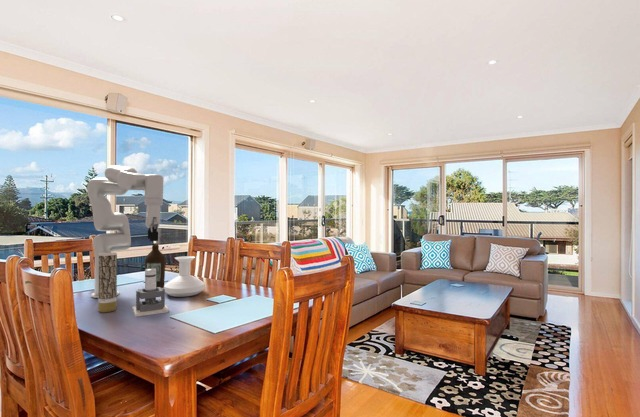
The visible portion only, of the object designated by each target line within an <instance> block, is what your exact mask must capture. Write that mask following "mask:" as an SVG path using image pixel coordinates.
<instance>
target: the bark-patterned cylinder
mask: <svg viewBox="0 0 640 417" xmlns="http://www.w3.org/2000/svg"><path fill="white" fill-rule="evenodd" d="M117 253H118V252H111V253H100V254H99V293H98V298H97V299H98V303H97V304H98V306H97V307H98V308H97V309H98V312H99V313H110V312H113V311H115V310H117V297H118V295H117V291H118V289H117V288H118V287H117V286H118V279H117V277H118V271H117V270H118V254H117Z"/></svg>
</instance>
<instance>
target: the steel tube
mask: <svg viewBox="0 0 640 417" xmlns="http://www.w3.org/2000/svg"><path fill="white" fill-rule="evenodd" d="M144 289H145V292H151V291H156V269H146V270H145V269H144ZM156 299H157V297H155V298H147V299H144V301H145V305H149V304H156Z"/></svg>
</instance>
